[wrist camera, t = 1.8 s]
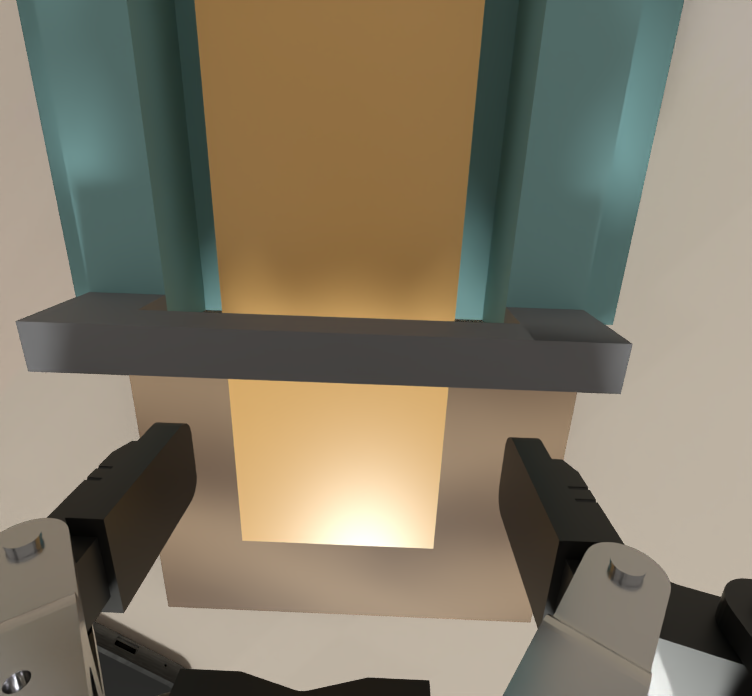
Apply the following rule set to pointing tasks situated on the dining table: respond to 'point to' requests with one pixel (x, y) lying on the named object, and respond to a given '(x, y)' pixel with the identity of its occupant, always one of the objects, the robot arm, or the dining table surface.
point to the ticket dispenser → (343, 334)
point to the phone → (132, 667)
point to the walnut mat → (351, 562)
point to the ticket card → (339, 241)
